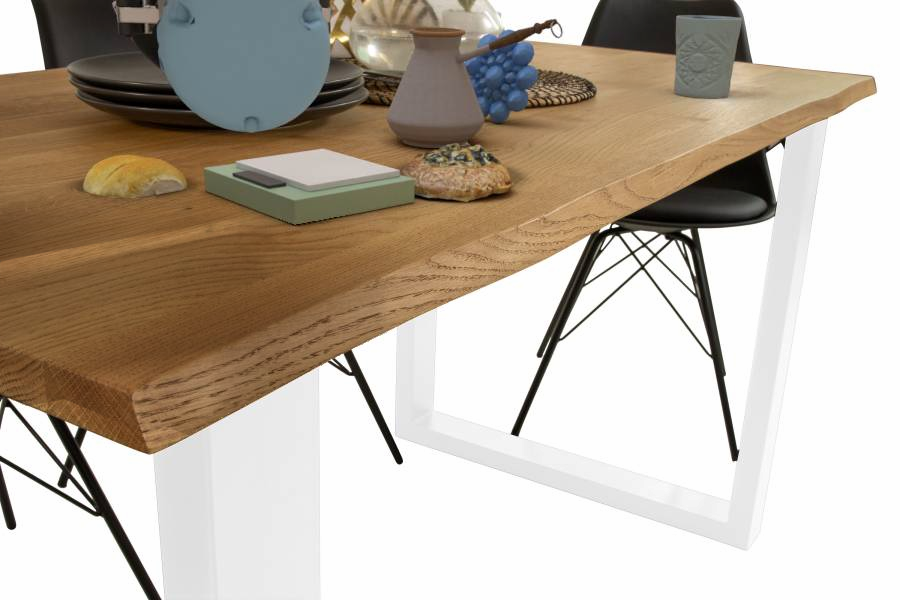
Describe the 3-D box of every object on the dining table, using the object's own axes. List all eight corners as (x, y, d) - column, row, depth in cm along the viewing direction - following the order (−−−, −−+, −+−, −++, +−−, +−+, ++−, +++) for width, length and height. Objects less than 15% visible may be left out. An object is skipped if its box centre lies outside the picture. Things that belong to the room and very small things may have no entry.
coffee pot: (366, 143, 117) (366, 9, 112) (422, 129, 126) (424, 5, 121) (527, 168, 106) (534, 22, 101) (575, 151, 115) (584, 16, 110)
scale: (295, 226, 84) (294, 193, 83) (204, 190, 94) (203, 161, 93) (414, 202, 92) (415, 172, 91) (319, 172, 102) (318, 145, 101)
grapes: (552, 124, 132) (558, 30, 128) (523, 131, 127) (528, 33, 123) (481, 113, 139) (484, 23, 135) (451, 119, 134) (453, 26, 129)
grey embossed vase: (690, 99, 155) (698, 19, 151) (656, 90, 164) (663, 14, 160) (746, 97, 158) (755, 19, 154) (710, 88, 167) (718, 14, 163)
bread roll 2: (441, 167, 104) (446, 120, 102) (532, 199, 99) (539, 150, 97) (373, 191, 96) (377, 141, 94) (468, 227, 91) (476, 174, 88)
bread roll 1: (143, 184, 96) (140, 142, 95) (201, 201, 91) (199, 157, 89) (64, 199, 90) (59, 154, 89) (121, 218, 85) (117, 171, 83)
